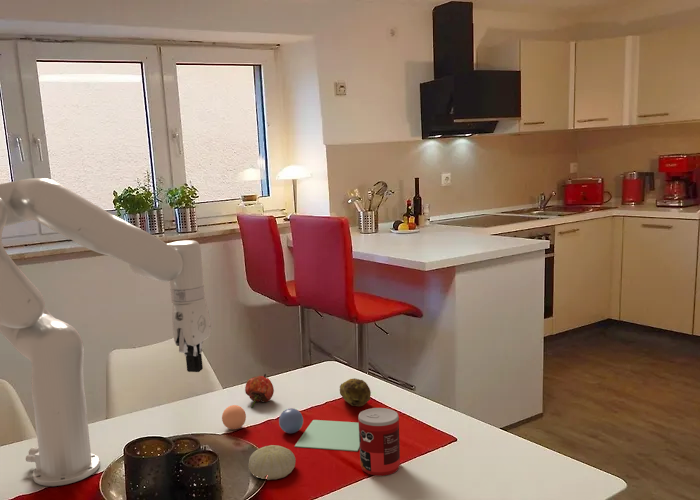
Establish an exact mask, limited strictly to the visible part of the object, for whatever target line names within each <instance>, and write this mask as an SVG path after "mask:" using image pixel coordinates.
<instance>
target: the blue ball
mask: <svg viewBox="0 0 700 500" xmlns="http://www.w3.org/2000/svg"><path fill="white" fill-rule="evenodd" d="M278 424H279V427H280V428H281V430H282V431H283V432H284V433H286V434H295V433H297V432H298V431H300V430H301V429H302V427H303V425H304V417H303V415H302V412H301V411H299V410H298V409H296V408H290V407H289V408H286V409H285V410H283V411H282V412H281V414H279V418H278Z"/></svg>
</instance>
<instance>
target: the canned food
mask: <svg viewBox="0 0 700 500" xmlns="http://www.w3.org/2000/svg"><path fill="white" fill-rule="evenodd" d="M399 419H400V418H399V413H398V412H397V411H395V410H393V409H391V408H387V407H372V408H368V409H365V410H362V411H360V412H359V414H358V423H359V444H360V447H359V463H360V467H361V470H362V471H363V472H364V473H366V474H367V475H371V476H377V477H380V476H389V475H390V476H391V475H392V474H395V473H396V472H397V471H399V467H400V464H401V455H400V454H401V452H400V451H401V449H400V445H401V444H400V420H399Z"/></svg>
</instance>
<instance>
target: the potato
mask: <svg viewBox="0 0 700 500" xmlns="http://www.w3.org/2000/svg"><path fill="white" fill-rule="evenodd" d="M371 391H372V390H371V388H370V387H369V385H368V384H367V382H366V381H364V380H363V379H359V378H350V379H348V380H345V381H344V382H343V383H341V384H340V385H339V394H340V396H341V397H342V398H343V400H344V401H345V402H347V403H348V404H349V405H351V406H353V407H363V406H364V405H366V404H367V403H368V402H369V401H370V400H371V396H372V395H371V393H372V392H371Z"/></svg>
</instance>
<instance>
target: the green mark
mask: <svg viewBox="0 0 700 500" xmlns="http://www.w3.org/2000/svg"><path fill="white" fill-rule="evenodd" d="M294 448H305V449H306V448H308V449H320V450H334V451H347V452H358V451H359V450H360V444H359V422H356V421H355V422H354V421H352V422H351V421H339V420H324V419H323V420H322V419H321V420H320V419H313V420H312V421H311V422H310V423H309V425H308V426H307V428H306V429H305V431H304V432H303V434H302V435H301V436H300V438H299V439H298V440H297V442H296V443H295V445H294Z"/></svg>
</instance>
